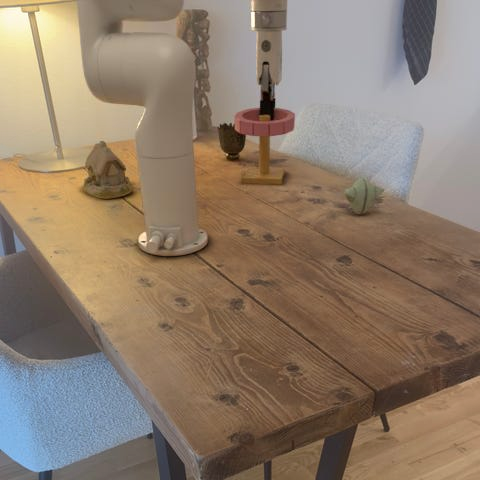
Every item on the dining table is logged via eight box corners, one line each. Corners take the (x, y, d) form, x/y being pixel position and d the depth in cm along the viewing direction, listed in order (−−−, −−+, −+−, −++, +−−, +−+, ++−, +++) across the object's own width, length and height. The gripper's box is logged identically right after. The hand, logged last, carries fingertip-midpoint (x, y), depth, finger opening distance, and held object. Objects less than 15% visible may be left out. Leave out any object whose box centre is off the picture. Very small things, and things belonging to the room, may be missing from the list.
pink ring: (291, 137, 121) (291, 123, 120) (231, 135, 123) (230, 122, 121) (296, 120, 131) (296, 107, 129) (240, 119, 133) (239, 107, 131)
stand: (281, 184, 130) (283, 120, 121) (242, 183, 131) (242, 119, 122) (284, 173, 137) (286, 112, 128) (247, 172, 138) (247, 111, 129)
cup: (241, 164, 143) (241, 129, 138) (214, 162, 145) (213, 127, 140) (250, 156, 149) (250, 122, 144) (224, 154, 151) (223, 121, 146)
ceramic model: (77, 185, 131) (68, 138, 125) (122, 178, 135) (116, 132, 129) (96, 202, 122) (87, 152, 115) (144, 193, 126) (139, 144, 120)
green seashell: (344, 219, 111) (348, 183, 107) (337, 212, 114) (340, 177, 110) (382, 215, 113) (387, 180, 108) (374, 209, 116) (378, 174, 111)
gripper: (283, 24, 113) (280, 126, 124) (289, 18, 125) (286, 112, 136) (246, 24, 113) (246, 126, 125) (255, 18, 126) (255, 111, 137)
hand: (267, 118), depth 131 cm, fingers closed
